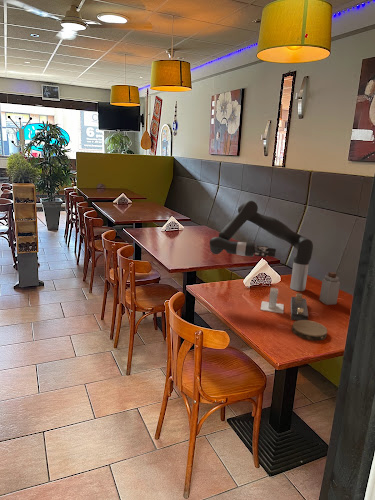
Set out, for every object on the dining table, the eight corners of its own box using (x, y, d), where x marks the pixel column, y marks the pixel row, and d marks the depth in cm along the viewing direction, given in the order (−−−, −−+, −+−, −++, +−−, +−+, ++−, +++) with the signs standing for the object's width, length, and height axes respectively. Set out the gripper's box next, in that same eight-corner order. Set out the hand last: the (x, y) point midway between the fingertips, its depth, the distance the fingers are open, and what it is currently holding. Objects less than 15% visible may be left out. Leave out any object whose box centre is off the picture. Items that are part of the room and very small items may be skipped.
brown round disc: (319, 326, 185) (320, 320, 184) (331, 342, 170) (332, 336, 169) (287, 324, 185) (288, 319, 184) (297, 340, 169) (298, 334, 169)
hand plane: (290, 302, 213) (292, 292, 211) (305, 304, 211) (306, 294, 209) (291, 319, 190) (292, 308, 188) (307, 322, 188) (308, 311, 187)
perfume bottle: (326, 304, 212) (331, 275, 208) (319, 300, 218) (324, 271, 214) (336, 304, 214) (341, 274, 209) (329, 299, 220) (334, 270, 216)
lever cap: (268, 304, 206) (270, 287, 204) (276, 305, 205) (278, 288, 203) (268, 307, 202) (270, 290, 199) (275, 309, 201) (277, 291, 198)
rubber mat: (261, 301, 211) (261, 301, 210) (283, 305, 208) (283, 304, 208) (260, 310, 199) (260, 309, 199) (283, 313, 197) (283, 312, 196)
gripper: (244, 245, 197) (275, 249, 193) (247, 239, 210) (276, 243, 206) (243, 258, 199) (274, 262, 195) (246, 252, 212) (275, 256, 208)
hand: (275, 252), depth 201 cm, fingers open, 8 cm apart
